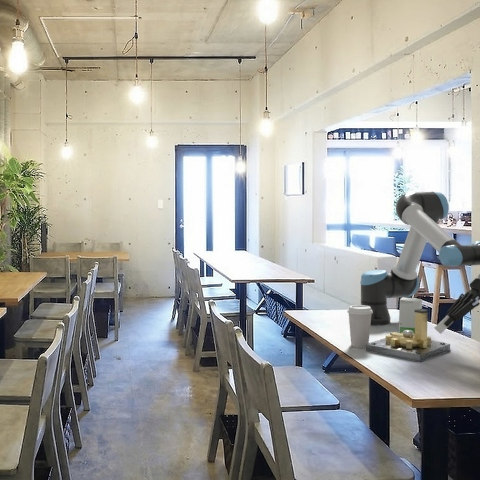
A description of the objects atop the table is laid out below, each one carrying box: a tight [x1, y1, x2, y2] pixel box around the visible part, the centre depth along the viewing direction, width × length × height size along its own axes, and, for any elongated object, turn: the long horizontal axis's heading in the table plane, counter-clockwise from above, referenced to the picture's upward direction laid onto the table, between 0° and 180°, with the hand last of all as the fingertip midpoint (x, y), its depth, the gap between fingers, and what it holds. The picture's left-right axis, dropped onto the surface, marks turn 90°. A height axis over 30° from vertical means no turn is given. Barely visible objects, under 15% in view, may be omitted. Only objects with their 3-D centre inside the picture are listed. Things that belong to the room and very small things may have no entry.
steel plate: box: [365, 330, 451, 363], centre depth 215 cm, size 22×22×7 cm
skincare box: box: [398, 297, 423, 334], centre depth 237 cm, size 8×7×16 cm
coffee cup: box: [346, 304, 373, 349], centre depth 222 cm, size 10×10×15 cm
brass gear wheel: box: [385, 308, 432, 349], centre depth 214 cm, size 16×16×13 cm
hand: (437, 330), depth 209 cm, fingers closed
